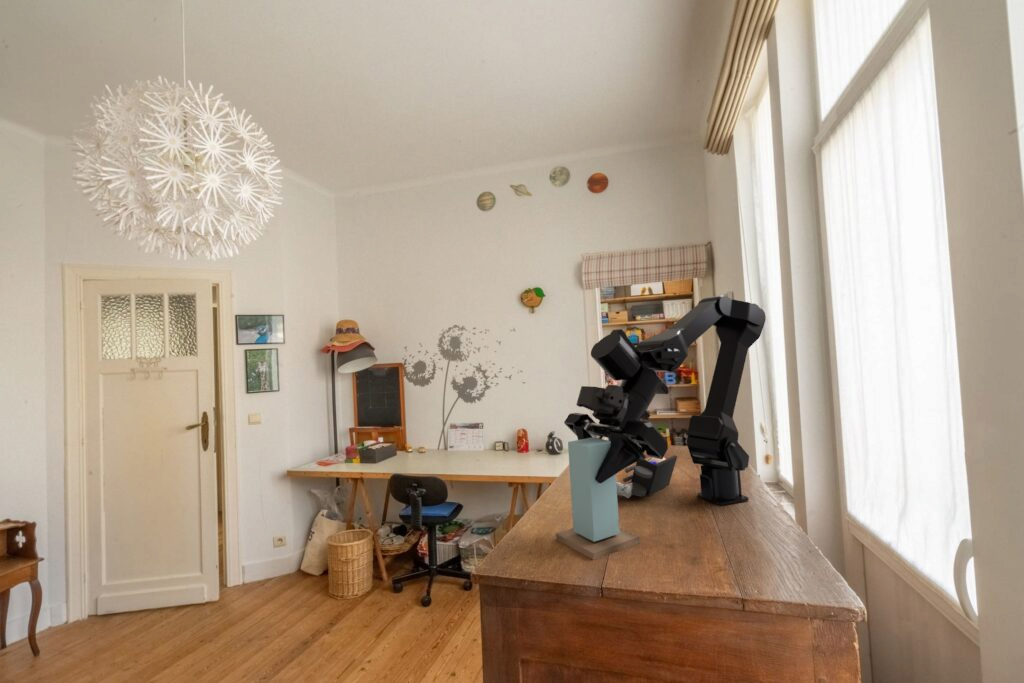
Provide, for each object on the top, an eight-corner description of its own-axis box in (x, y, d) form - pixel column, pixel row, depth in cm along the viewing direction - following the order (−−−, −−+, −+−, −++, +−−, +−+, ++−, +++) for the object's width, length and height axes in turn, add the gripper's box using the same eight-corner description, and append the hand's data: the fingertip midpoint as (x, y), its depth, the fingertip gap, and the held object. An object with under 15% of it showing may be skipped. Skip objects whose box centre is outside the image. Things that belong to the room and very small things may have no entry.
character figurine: (618, 499, 88) (654, 481, 99) (652, 503, 83) (686, 484, 94) (613, 459, 89) (649, 446, 100) (646, 461, 84) (681, 447, 95)
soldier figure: (618, 490, 97) (652, 485, 86) (609, 509, 94) (642, 507, 84) (591, 467, 97) (621, 460, 86) (581, 486, 94) (610, 481, 84)
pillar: (598, 523, 72) (592, 437, 73) (619, 533, 68) (613, 441, 69) (573, 531, 70) (567, 441, 70) (594, 541, 66) (588, 446, 66)
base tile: (599, 528, 75) (599, 519, 75) (639, 546, 67) (638, 536, 67) (556, 542, 70) (555, 533, 71) (594, 564, 63) (593, 553, 63)
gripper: (569, 367, 80) (520, 438, 74) (647, 366, 64) (593, 456, 58) (605, 406, 84) (562, 477, 78) (689, 414, 67) (642, 504, 61)
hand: (585, 477), depth 69 cm, fingers open, 5 cm apart
